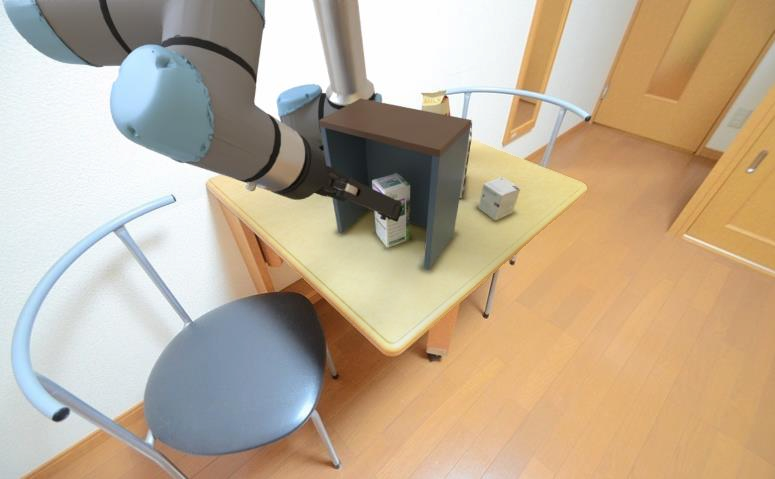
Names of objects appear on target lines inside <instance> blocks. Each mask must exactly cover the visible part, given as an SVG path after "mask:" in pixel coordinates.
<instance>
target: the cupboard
mask: <svg viewBox="0 0 775 479" xmlns="http://www.w3.org/2000/svg"><path fill="white" fill-rule="evenodd" d="M471 120H472V119H468V118H463V117H459V116H458V117H457V116H453V115H451V116H448V115H443V114H438V113H433V112H428V111H422V109H416V108H412V107H408V106H407V107H406V106H402V105H396V104H391V103H386V102H382V103H381V102H376V101H371V100H366V99H359V100H357V101H355V102H353V103H351V104H349V105H347V106H345V107H343V108H341V109H340V110H338V111H336V112H334V113H332V114H330V115H328V116H326V117H324V118H322V119H320V120H319V123H320V129H321V135H322V141H323V147H324V152H325V158H326V164H327V166H329V167H331V168H333V169H335V170H336V172H338V173H340V174H343V175H345V176H347V177H349V178H350V177H351V178H354V180H356V181H357V182H359V183H361V184H363V185H365V186H367V187H369V188H371V189H373V187H372V180H374V179H379V178H382V177H385V176H389V175H393V174H394V173H397V174H399V175H400V176H401V177H403V178H404V179H405V180H406V181H407V182H408V183H409V185H410V224H413V225H416V226H419V227H422V228H425V229H426V234H425V245H424V246H425V249H424V261H423V269H425V270H428V271H430V269H432V267H433V266H434V264H435V262H436V261H437V259H438V258H439V257H440V255H441V253H442V252H443V251H444V249H445V248H446V246H447V245H448V244H449V242H450V241H451V240H452V238H453V236H454V235H455V231H456V230H455V229H456V225H457V224H456V223H457V216H458V210H459V204H460V199H461V198H460V191H461V185H462V178H463V172H464V165H465V159H466V153H467V146H468V140H469V133H470V126H471ZM340 182H343V183H344V180H343V179H340ZM340 192H341V190H339V189H338V191H337V193H336V195H337V196H339V194H340ZM331 199H332V204H333V211H334V216H335V222H336V227H337V232H338V233H340V234H343V233H345V232H346V231H347V230H348V229H349V228H350V227H351V226H353V224H354V223H355V222H357V221H358V220H359V219H360V218H361V217H363V215H364V214H365V213H367V212H368V210H369V209H368V208H366V207H363V206H361V205H358V204H356V203H353V202H351V201H348V200H345V201H343V202H342V201H339V200H336V199H334V198H331Z"/></svg>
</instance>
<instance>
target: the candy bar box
mask: <svg viewBox="0 0 775 479" xmlns="http://www.w3.org/2000/svg"><path fill="white" fill-rule="evenodd" d="M470 120H471V126H470V133H469V140H468V146H467V153H466V159H465V165H464V172H463V178H462V185H461V191H460V198H459V199H463V198H464V193H465V186H466V179H467V172H468V166H469V159H470V153H471V145H472V139H473V138H472V137H473V136H472V135H473V120H472V119H470Z"/></svg>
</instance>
